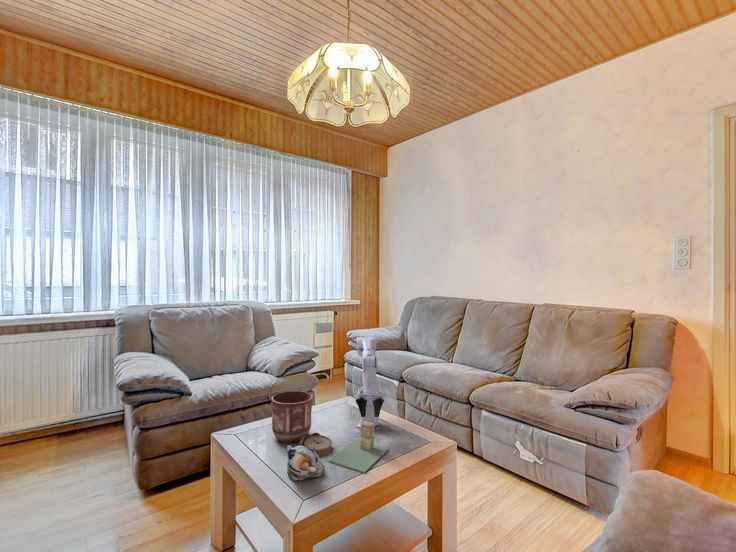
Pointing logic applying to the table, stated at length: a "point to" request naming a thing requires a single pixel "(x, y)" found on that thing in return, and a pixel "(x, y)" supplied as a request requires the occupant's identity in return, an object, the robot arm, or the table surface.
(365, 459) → the rubber mat
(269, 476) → the table surface
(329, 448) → the alarm clock
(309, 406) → the pottery
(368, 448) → the birch block
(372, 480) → the table surface
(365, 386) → the robot arm
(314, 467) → the lucky cat figurine
